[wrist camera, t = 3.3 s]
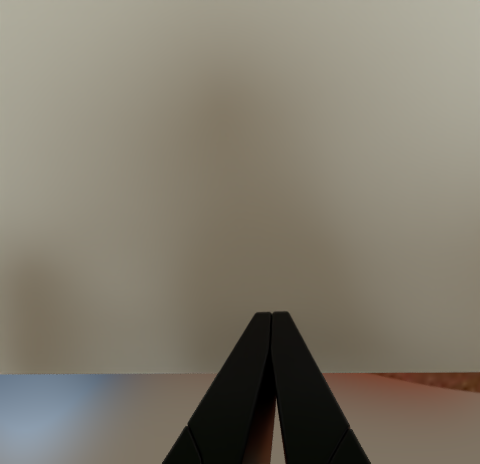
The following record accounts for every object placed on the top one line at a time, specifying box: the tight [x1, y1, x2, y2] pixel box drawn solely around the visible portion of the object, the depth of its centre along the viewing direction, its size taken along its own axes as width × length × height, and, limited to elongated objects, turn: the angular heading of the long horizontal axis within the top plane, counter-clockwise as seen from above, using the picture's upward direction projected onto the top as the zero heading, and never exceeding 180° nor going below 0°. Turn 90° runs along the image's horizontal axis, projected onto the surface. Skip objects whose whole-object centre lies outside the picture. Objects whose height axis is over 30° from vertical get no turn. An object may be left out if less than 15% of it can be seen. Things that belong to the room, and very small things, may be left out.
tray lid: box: [0, 0, 480, 374], centre depth 11 cm, size 22×14×1 cm
